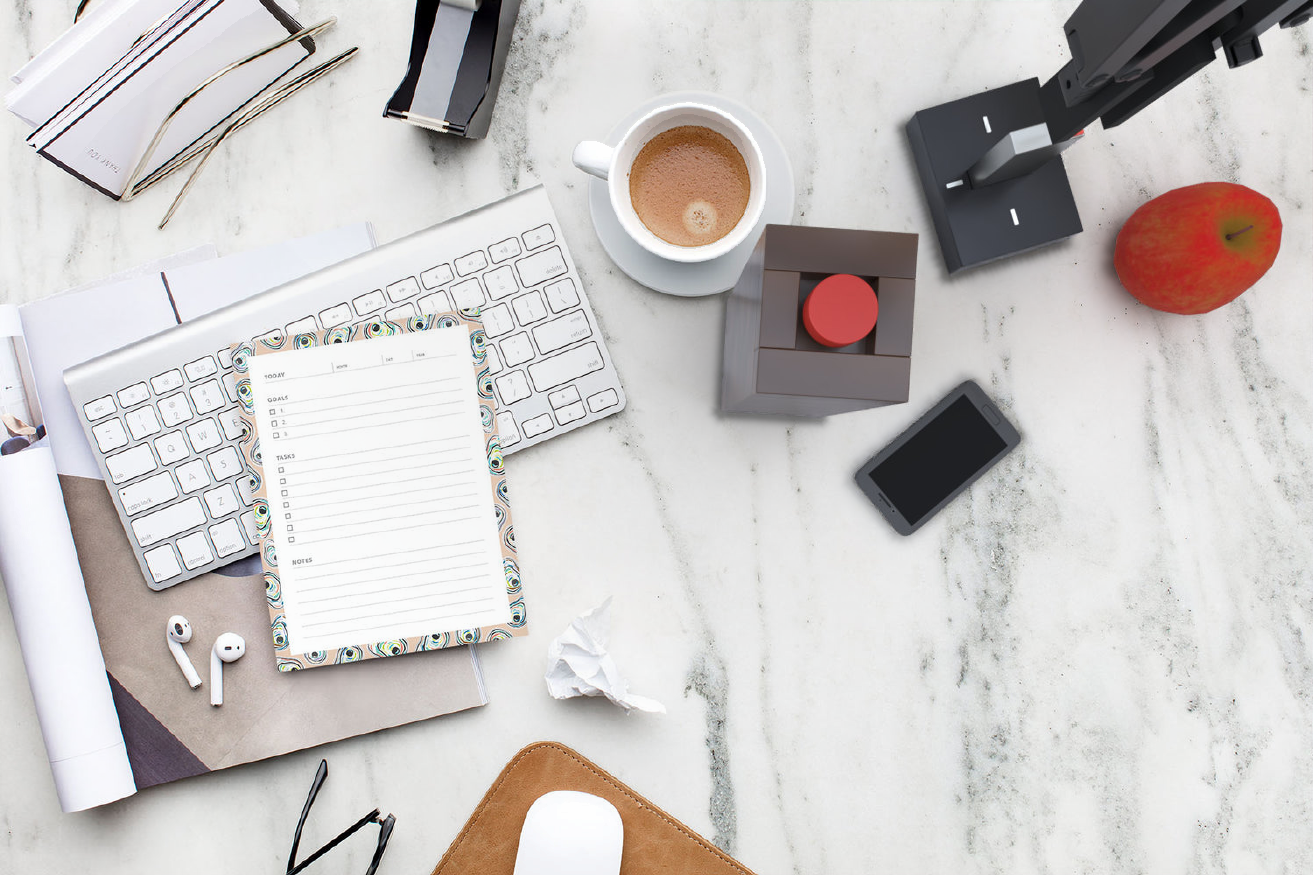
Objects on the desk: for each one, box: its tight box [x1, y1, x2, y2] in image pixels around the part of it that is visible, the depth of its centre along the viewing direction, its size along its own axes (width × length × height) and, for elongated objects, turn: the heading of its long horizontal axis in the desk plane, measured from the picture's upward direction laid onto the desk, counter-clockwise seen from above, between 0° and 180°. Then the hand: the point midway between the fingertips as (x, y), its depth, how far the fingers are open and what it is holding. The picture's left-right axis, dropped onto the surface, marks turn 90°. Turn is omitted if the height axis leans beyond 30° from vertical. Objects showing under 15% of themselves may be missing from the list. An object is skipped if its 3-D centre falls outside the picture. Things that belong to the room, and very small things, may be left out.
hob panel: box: [905, 76, 1084, 275], centre depth 68 cm, size 14×11×3 cm
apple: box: [1112, 181, 1284, 316], centre depth 64 cm, size 11×11×11 cm
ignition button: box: [803, 274, 878, 348], centre depth 45 cm, size 4×4×2 cm
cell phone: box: [854, 379, 1022, 537], centre depth 69 cm, size 7×14×1 cm, turn 130°
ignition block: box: [720, 223, 919, 418], centre depth 58 cm, size 10×9×24 cm
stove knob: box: [968, 122, 1086, 189], centre depth 63 cm, size 6×2×8 cm, turn 106°
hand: (1077, 108), depth 37 cm, fingers closed
